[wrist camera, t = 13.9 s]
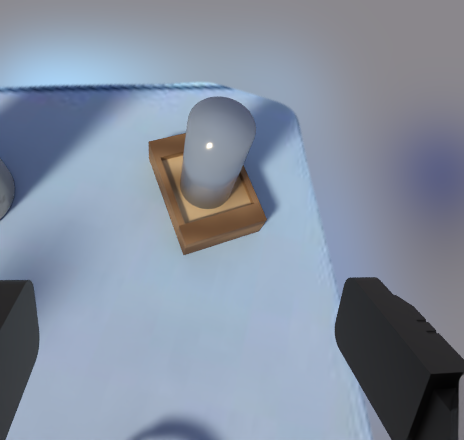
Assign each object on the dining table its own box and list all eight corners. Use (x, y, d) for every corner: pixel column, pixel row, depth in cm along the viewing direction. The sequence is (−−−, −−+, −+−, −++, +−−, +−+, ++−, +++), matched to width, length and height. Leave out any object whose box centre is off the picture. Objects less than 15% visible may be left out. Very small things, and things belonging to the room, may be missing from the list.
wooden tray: (149, 158, 46) (148, 141, 43) (220, 140, 49) (225, 123, 45) (183, 255, 43) (186, 245, 39) (259, 231, 45) (266, 219, 42)
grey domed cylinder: (173, 200, 42) (179, 143, 32) (187, 155, 44) (197, 88, 34) (225, 215, 42) (248, 163, 32) (237, 169, 44) (261, 108, 34)
